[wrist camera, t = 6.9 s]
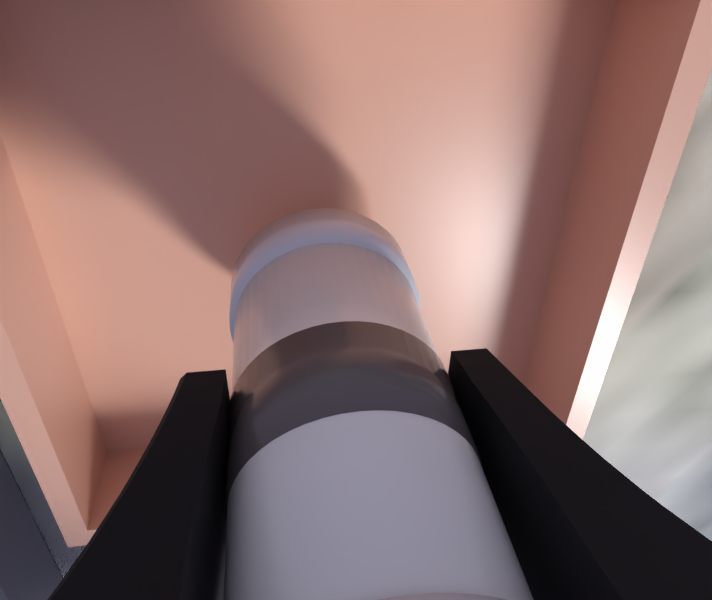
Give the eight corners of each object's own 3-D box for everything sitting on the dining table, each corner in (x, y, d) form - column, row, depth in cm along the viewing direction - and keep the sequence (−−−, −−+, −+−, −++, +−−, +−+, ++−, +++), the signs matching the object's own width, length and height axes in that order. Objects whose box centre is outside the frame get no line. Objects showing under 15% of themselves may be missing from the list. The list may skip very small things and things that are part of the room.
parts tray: (649, -75, 11) (756, -62, 9) (524, 412, 19) (565, 490, 17) (-97, -83, 10) (-213, -70, 7) (93, 454, 17) (68, 547, 15)
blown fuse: (415, 202, 12) (671, 714, 5) (402, 349, 14) (563, 852, 7) (221, 213, 11) (167, 800, 4) (239, 362, 14) (226, 919, 6)
